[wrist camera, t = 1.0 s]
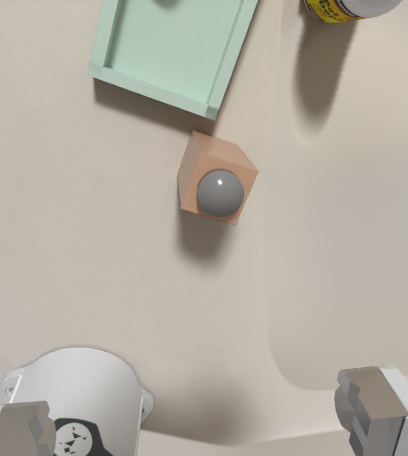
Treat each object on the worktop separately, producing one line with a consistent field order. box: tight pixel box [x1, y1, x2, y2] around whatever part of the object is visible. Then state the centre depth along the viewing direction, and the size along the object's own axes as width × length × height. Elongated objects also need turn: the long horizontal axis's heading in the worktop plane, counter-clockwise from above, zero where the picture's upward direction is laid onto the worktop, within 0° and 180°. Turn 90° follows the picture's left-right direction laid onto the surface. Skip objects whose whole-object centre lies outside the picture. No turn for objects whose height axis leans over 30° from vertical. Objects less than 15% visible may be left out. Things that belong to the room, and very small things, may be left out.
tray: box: [88, 0, 258, 121], centre depth 30 cm, size 13×11×2 cm
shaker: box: [177, 129, 258, 225], centre depth 32 cm, size 5×5×10 cm
